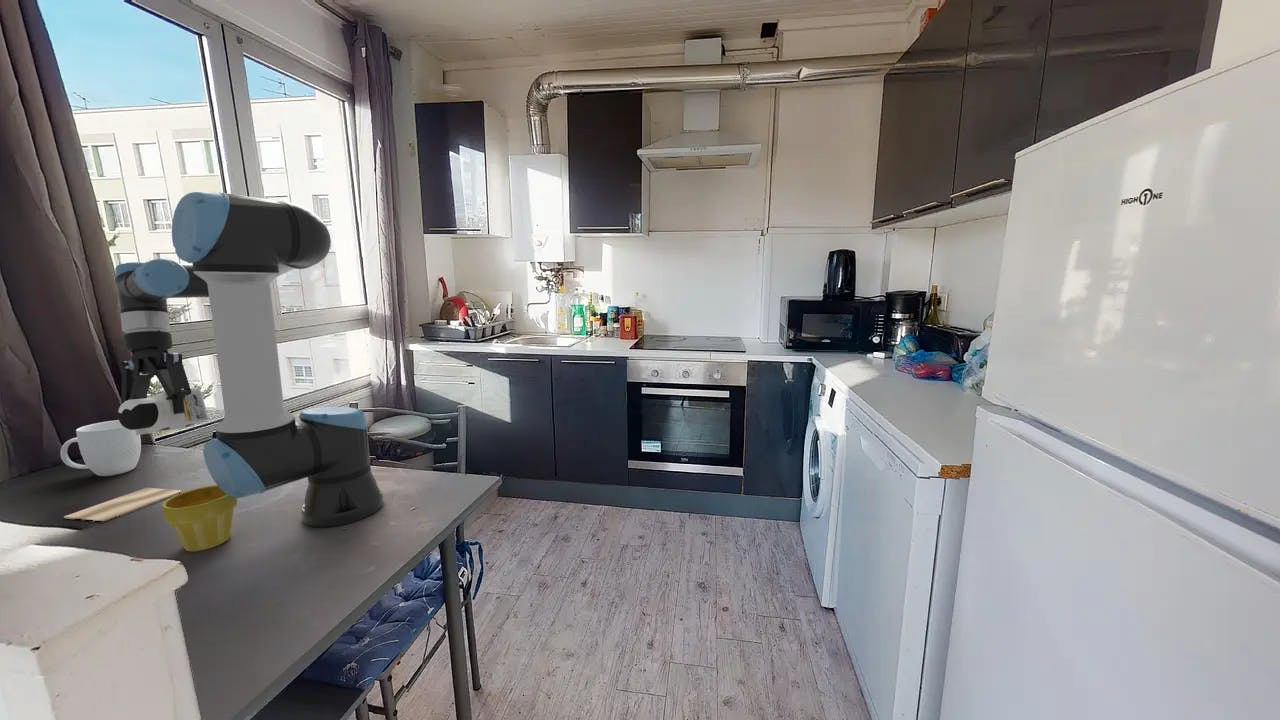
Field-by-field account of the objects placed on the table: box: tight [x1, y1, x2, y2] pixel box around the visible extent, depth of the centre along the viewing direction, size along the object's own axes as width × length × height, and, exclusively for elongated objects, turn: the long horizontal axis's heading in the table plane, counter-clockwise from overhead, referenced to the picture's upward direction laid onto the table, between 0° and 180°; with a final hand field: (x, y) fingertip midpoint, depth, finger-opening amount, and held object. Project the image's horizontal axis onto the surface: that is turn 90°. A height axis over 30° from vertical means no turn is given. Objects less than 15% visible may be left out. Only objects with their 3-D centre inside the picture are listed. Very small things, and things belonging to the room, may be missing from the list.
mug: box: [60, 419, 142, 477], centre depth 126 cm, size 15×11×13 cm
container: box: [117, 388, 210, 434], centre depth 107 cm, size 8×8×13 cm
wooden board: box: [63, 487, 184, 523], centre depth 108 cm, size 11×15×1 cm
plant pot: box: [161, 484, 238, 553], centre depth 91 cm, size 10×10×10 cm
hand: (161, 431), depth 107 cm, fingers closed on container, 8 cm apart
